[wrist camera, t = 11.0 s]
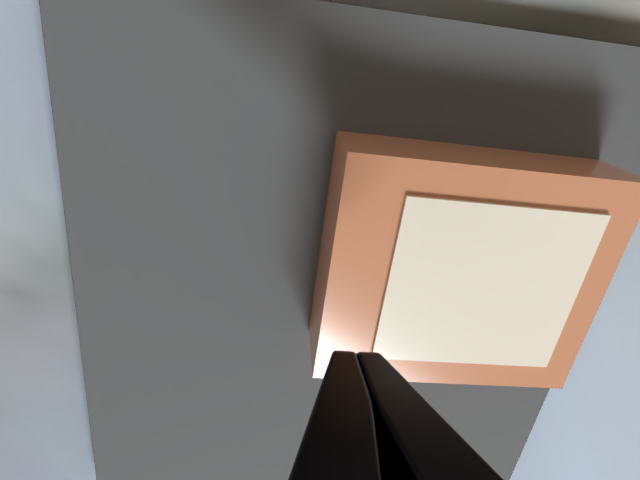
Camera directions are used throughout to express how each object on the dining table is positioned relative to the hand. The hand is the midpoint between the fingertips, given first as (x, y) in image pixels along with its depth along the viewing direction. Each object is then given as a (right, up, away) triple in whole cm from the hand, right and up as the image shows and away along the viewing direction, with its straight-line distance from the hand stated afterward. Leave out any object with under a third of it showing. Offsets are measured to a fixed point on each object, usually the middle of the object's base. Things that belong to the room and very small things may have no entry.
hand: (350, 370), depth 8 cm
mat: (0, 0, +6) cm, 6 cm away
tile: (0, +2, +3) cm, 4 cm away
